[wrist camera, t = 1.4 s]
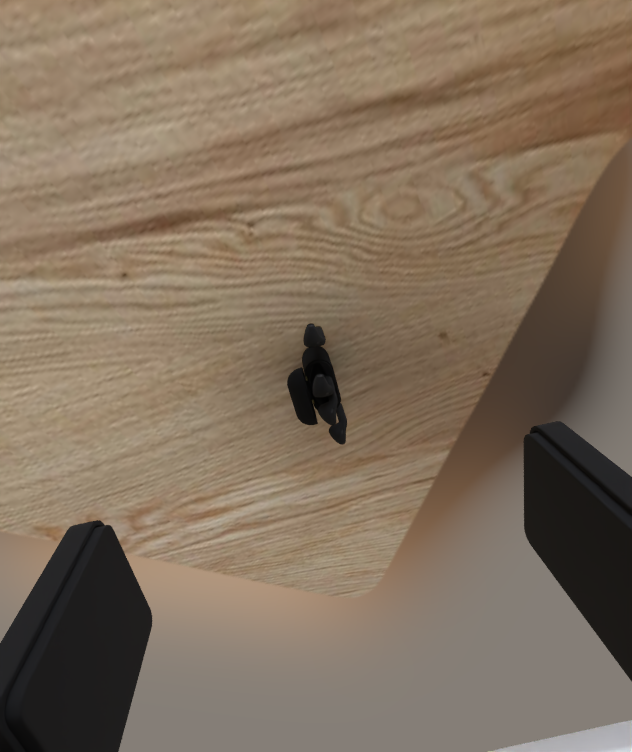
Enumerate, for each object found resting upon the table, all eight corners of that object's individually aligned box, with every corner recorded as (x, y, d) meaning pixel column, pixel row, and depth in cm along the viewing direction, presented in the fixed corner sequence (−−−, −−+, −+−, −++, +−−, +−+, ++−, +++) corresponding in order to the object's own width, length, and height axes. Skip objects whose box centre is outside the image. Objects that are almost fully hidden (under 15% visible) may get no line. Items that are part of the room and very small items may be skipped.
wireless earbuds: (344, 414, 28) (358, 459, 23) (305, 425, 28) (311, 471, 23) (316, 307, 25) (325, 333, 21) (272, 319, 25) (272, 348, 21)
